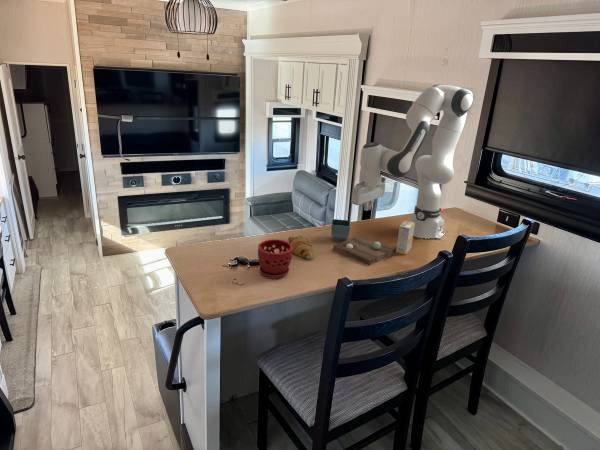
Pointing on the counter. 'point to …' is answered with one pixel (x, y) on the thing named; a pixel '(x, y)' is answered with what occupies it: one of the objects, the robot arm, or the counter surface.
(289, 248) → the plant pot
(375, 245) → the sage ball
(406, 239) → the supplement box
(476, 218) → the counter surface
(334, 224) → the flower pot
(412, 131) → the robot arm
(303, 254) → the croissant
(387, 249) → the board
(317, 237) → the counter surface
